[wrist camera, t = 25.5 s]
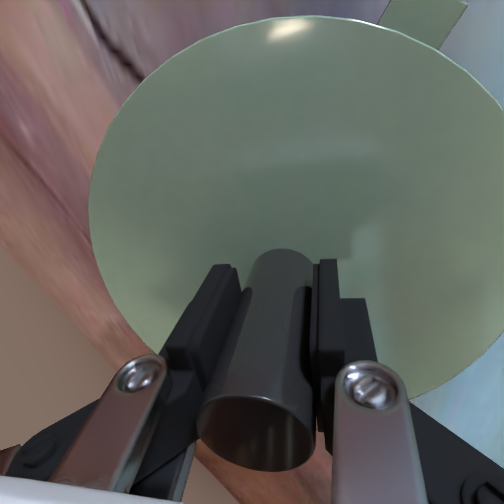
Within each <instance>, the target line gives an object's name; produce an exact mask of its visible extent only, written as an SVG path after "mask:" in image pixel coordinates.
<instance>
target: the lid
mask: <svg viewBox="0 0 504 504" xmlns="http://www.w3.org/2000/svg"><path fill="white" fill-rule="evenodd" d="M88 210H89V230H90V236H91V242H92V249H93V252H94V256H95V259H96V263H97V266H98V269H99V272H100V274H101V277H102V279H103V282H104V284H105V286H106V289H107V291H108V293H109V294H110V296H111V298H112V300H113V302H114V303H115V305H116V307H117V309H118V310H119V312H120V313H121V314H122V316H123V317H124V319H125V320H126V321H127V323H128V324H129V326H130V327H131V328H132V329H133V330H134V332H135V333H136V334H137V335H138V336H139V337H140V338H141V340H142V341H143V342H144V343H145V344H146V345H147V346H148V347H149V348H150V349H151V350H153V351H154V352H155V353H156V354H157V355H158V353H159V352H160V350H161V348H162V347H163V345H164V343H165V342H166V340H167V338H168V337H169V335H170V334H171V332H172V330H173V329H174V327H175V325H176V324H177V322H178V320H179V319H180V317H181V315H182V314H183V312H184V310H185V309H186V307H187V305H188V304H189V303H190V302H191V301H192V300H193V298H194V296H195V295H196V293H197V291H198V290H199V288H200V286H201V285H202V283H203V281H204V279H205V278H206V276H207V274H208V273H209V271H210V269H211V268H212V266H213V265H214V264H230V265H231V267H232V268H236V269H237V273H238V277H239V282H240V287H241V291H242V293H241V296H240V299H239V301H238V304H237V307H236V309H235V312H234V314H233V317H232V320H231V322H230V325H229V328H228V330H227V333H226V335H225V338H224V341H223V343H222V346H221V349H220V351H219V354H218V356H217V359H216V362H215V364H214V367H213V370H212V372H211V375H210V377H209V380H208V383H207V385H206V388H205V391H204V393H203V396H202V399H201V401H200V404H199V406H198V409H197V412H196V415H195V427H196V430H197V433H198V435H199V437H200V438H201V440H202V441H203V442H204V444H205V445H206V446H207V447H208V448H209V449H211V450H212V451H213V452H214V453H216V454H217V455H218V456H220V457H222V458H223V459H225V460H227V461H229V462H231V463H234V464H236V465H239V466H241V467H245V468H248V469H252V470H257V471H265V472H281V471H287V470H292V469H295V468H298V467H300V466H302V465H303V464H305V463H306V462H307V461H308V460H309V459H310V458H311V456H312V455H313V453H314V450H315V446H316V394H315V391H314V389H313V380H312V371H311V362H310V321H311V301H312V281H313V264H320V259H337V267H338V279H339V291H340V298H365V300H366V304H367V309H368V314H369V319H370V324H371V329H372V334H373V339H374V345H375V350H376V355H377V360H378V362H379V363H381V364H384V365H386V366H388V367H390V368H391V369H392V370H394V371H395V372H396V373H397V374H398V375H399V376H400V377H401V379H402V380H403V382H404V384H405V387H406V390H407V395H408V400H410V399H412V398H415V397H418V396H420V395H422V394H424V393H426V392H428V391H430V390H432V389H434V388H436V387H438V386H440V385H442V384H444V383H445V382H447V381H448V380H450V379H452V378H453V377H455V376H456V375H458V374H459V373H461V372H462V371H464V370H465V369H466V368H467V367H469V366H470V365H471V364H472V363H473V362H475V361H476V360H477V359H478V358H479V357H481V356H482V355H483V354H484V353H485V352H486V351H487V350H488V349H489V347H490V346H491V345H492V344H493V343H494V342H495V341H496V340H497V339H498V338H499V337H500V336H501V334H502V333H503V332H504V110H503V108H502V107H501V105H500V104H499V102H498V101H497V100H496V99H495V98H494V97H493V96H492V95H491V94H490V93H489V92H488V91H487V90H486V89H485V88H484V87H483V86H482V85H481V84H480V83H479V82H478V81H477V80H476V79H475V78H474V77H473V76H472V75H471V74H470V73H469V72H468V71H467V70H465V69H464V68H462V67H461V66H460V65H458V64H457V63H455V62H454V61H452V60H451V59H450V58H448V57H447V56H445V55H444V54H442V53H441V52H440V51H438V50H437V49H435V48H433V47H431V46H429V45H427V44H425V43H422V42H420V41H418V40H416V39H414V38H412V37H410V36H407V35H405V34H403V33H401V32H399V31H396V30H393V29H389V28H385V27H382V26H378V25H375V24H371V23H367V22H364V21H360V20H356V19H347V18H338V17H328V16H319V15H307V16H289V17H273V18H269V19H264V20H260V21H255V22H250V23H246V24H241V25H237V26H234V27H231V28H229V29H226V30H224V31H221V32H218V33H216V34H213V35H211V36H208V37H206V38H203V39H201V40H199V41H197V42H196V43H194V44H192V45H191V46H189V47H187V48H185V49H184V50H182V51H180V52H179V53H177V54H175V55H174V56H172V57H170V58H169V59H168V60H167V61H165V62H164V63H163V64H162V65H161V66H159V67H158V68H157V69H156V70H155V71H153V72H152V73H151V74H150V75H149V76H147V77H146V78H145V79H144V80H143V81H142V82H141V84H140V85H139V86H138V87H137V88H136V89H135V91H134V92H133V93H132V94H131V95H130V96H129V97H128V99H127V100H126V101H125V102H124V103H123V105H122V107H121V108H120V110H119V111H118V113H117V115H116V116H115V118H114V119H113V121H112V123H111V124H110V126H109V127H108V130H107V132H106V134H105V137H104V139H103V141H102V144H101V146H100V148H99V151H98V153H97V157H96V161H95V165H94V168H93V172H92V176H91V183H90V192H89V201H88Z"/></svg>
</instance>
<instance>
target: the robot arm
mask: <svg viewBox="0 0 504 504" xmlns="http://www.w3.org/2000/svg"><path fill="white" fill-rule="evenodd" d="M241 293H242V291H241V287H240V282H239V277H238V273H237V269H236V268H232V267H231V265H230V264H214V265H213V266H212V268H211V269H210V271H209V273H208V274H207V276H206V278H205V279H204V281H203V283H202V285H201V286H200V288H199V290H198V291H197V293H196V295H195V296H194V298H193V300H192V301H191V302H190V303H189V304H188V305H187V307H186V309H185V310H184V312H183V314H182V315H181V317H180V319H179V320H178V322H177V324H176V325H175V327H174V329H173V330H172V332H171V334H170V335H169V337H168V338H167V340H166V342H165V343H164V345H163V347H162V348H161V350H160V352H159V353H158V355H157V354H146V355H142V356H139V357H136V358H134V359H132V360H131V361H129V362H127V363H126V364H125V365H124V366H122V367H121V368H120V369H119V370H118V372H117V373H116V374H115V376H114V377H113V379H112V380H111V382H110V384H109V385H108V387H107V388H106V390H105V391H104V393H103V394H102V396H101V398H100V399H98V400H96V401H94V402H92V403H90V404H89V405H87V406H85V407H83V408H81V409H80V410H78V411H76V412H74V413H72V414H71V415H69V416H67V417H65V418H63V419H62V420H60V421H58V422H56V423H54V424H53V425H51V426H49V427H47V428H46V429H44V430H42V431H40V432H39V433H37V434H36V435H34V436H33V437H32V438H31V439H30V440H28V441H27V442H26V443H25V444H24V445H23V446H21V445H20V444H19V445H16V446H13V447H10V448H7V449H4V450H1V451H0V504H187V503H181V500H182V497H183V493H184V489H185V486H186V483H187V479H188V475H189V472H190V468H191V465H192V461H193V458H194V454H195V451H196V444H197V440H198V439H199V438H200V437H199V435H198V433H197V430H196V427H195V415H196V412H197V409H198V406H199V404H200V401H201V399H202V396H203V393H204V391H205V388H206V385H207V383H208V380H209V377H210V375H211V372H212V370H213V367H214V364H215V362H216V359H217V356H218V354H219V351H220V349H221V346H222V343H223V341H224V338H225V335H226V333H227V330H228V328H229V325H230V322H231V320H232V317H233V314H234V312H235V309H236V307H237V304H238V301H239V299H240V296H241ZM310 362H311V371H312V380H313V389H314V391H315V394H316V416H317V425H318V432H324V437H325V447H326V450H327V451H328V452H329V453H330V454H331V455H332V483H331V504H504V469H503V468H502V467H500V466H499V465H498V464H496V463H495V462H493V461H492V460H491V459H489V458H488V457H486V456H485V455H484V454H482V453H481V452H479V451H478V450H477V449H475V448H474V447H472V446H471V445H469V444H468V443H467V442H465V441H464V440H462V439H461V438H460V437H458V436H457V435H455V434H454V433H453V432H451V431H450V430H448V429H447V428H446V427H444V426H443V425H441V424H440V423H439V422H437V421H436V420H434V419H433V418H432V417H430V416H429V415H427V414H426V413H424V412H423V411H422V410H420V409H419V408H417V407H416V406H415V405H413V404H412V403H410V402H409V400H408V395H407V390H406V387H405V384H404V382H403V380H402V379H401V377H400V376H399V375H398V374H397V373H396V372H395V371H394V370H392V369H391V368H390V367H388V366H386V365H384V364H381V363H379V362H378V360H377V355H376V350H375V345H374V339H373V334H372V329H371V324H370V319H369V314H368V309H367V304H366V300H365V298H340V291H339V279H338V267H337V259H320V264H313V281H312V301H311V321H310Z"/></svg>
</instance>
